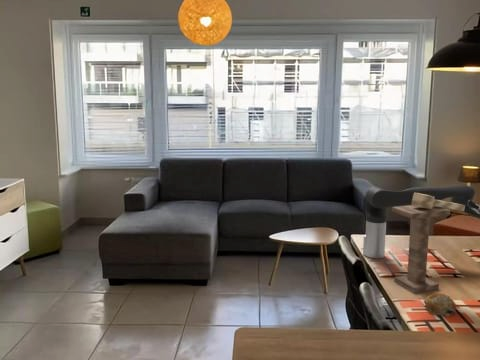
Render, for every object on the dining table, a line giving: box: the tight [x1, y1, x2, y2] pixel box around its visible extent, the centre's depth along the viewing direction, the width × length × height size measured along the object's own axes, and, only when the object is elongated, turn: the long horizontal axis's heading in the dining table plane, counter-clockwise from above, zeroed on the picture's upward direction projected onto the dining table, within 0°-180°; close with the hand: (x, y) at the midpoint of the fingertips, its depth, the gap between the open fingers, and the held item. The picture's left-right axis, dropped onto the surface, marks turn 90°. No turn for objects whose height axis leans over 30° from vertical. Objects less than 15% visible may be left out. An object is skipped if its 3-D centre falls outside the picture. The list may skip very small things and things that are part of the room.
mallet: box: [411, 192, 465, 212], centre depth 189 cm, size 24×5×5 cm, turn 111°
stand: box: [391, 205, 451, 294], centre depth 189 cm, size 18×12×32 cm, turn 109°
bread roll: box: [423, 292, 457, 317], centre depth 169 cm, size 10×10×8 cm
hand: (476, 204), depth 194 cm, fingers open, 8 cm apart
